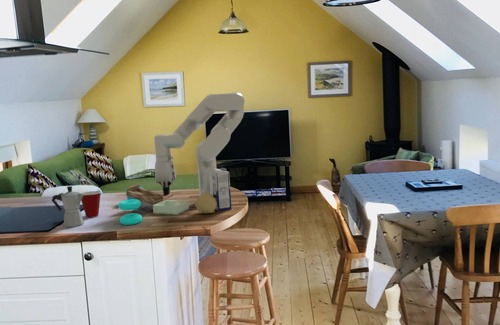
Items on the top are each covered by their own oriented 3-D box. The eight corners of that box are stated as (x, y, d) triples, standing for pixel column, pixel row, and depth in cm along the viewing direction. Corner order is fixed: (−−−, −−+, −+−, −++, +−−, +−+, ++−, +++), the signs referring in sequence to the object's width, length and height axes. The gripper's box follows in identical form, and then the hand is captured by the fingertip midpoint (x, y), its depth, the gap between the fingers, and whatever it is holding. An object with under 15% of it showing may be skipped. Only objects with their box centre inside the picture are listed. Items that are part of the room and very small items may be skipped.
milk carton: (214, 208, 247) (211, 167, 243) (227, 206, 249) (224, 166, 246) (218, 211, 240) (215, 169, 237) (231, 209, 242) (229, 168, 239)
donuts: (142, 201, 224) (120, 204, 220) (144, 223, 226) (122, 226, 222) (138, 197, 233) (116, 200, 230) (140, 218, 235) (118, 221, 231)
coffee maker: (90, 221, 235) (86, 183, 232) (85, 226, 226) (80, 187, 223) (58, 223, 234) (53, 185, 231) (51, 228, 226) (46, 189, 223)
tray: (189, 209, 247) (188, 201, 247) (176, 214, 237) (176, 206, 237) (166, 207, 253) (165, 200, 252) (153, 213, 243) (152, 205, 242)
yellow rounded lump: (220, 210, 242) (218, 188, 240) (215, 216, 230) (213, 193, 228) (200, 210, 243) (198, 189, 242) (194, 217, 232) (192, 194, 230)
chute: (173, 196, 260) (174, 189, 259) (152, 204, 243) (153, 197, 242) (148, 187, 266) (149, 180, 265) (126, 195, 249) (126, 187, 248)
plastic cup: (107, 212, 250) (105, 189, 248) (98, 218, 239) (96, 193, 237) (86, 213, 251) (84, 189, 249) (77, 219, 241) (74, 194, 239)
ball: (182, 210, 245) (184, 203, 243) (177, 213, 241) (180, 205, 240) (175, 206, 246) (178, 199, 245) (171, 208, 242) (173, 201, 241)
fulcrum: (159, 207, 255) (158, 196, 254) (145, 213, 244) (144, 202, 243) (146, 206, 258) (145, 196, 257) (132, 212, 247) (131, 201, 247)
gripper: (180, 157, 255) (183, 193, 258) (155, 157, 261) (158, 192, 264) (172, 160, 248) (175, 196, 251) (147, 160, 254) (150, 195, 257)
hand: (166, 194), depth 257 cm, fingers closed
